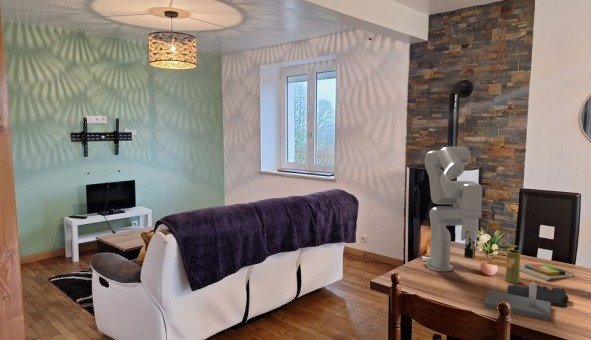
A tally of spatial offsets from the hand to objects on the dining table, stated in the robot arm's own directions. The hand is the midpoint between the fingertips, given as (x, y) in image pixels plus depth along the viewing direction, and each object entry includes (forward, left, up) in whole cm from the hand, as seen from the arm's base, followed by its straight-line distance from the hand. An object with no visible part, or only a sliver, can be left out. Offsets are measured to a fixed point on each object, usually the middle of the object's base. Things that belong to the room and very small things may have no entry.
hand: (469, 256), depth 171 cm
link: (+7, 0, -1) cm, 7 cm away
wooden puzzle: (+25, +51, -18) cm, 60 cm away
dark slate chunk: (+24, +16, -18) cm, 34 cm away
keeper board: (+18, 0, -18) cm, 25 cm away
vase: (+13, +30, -18) cm, 38 cm away
